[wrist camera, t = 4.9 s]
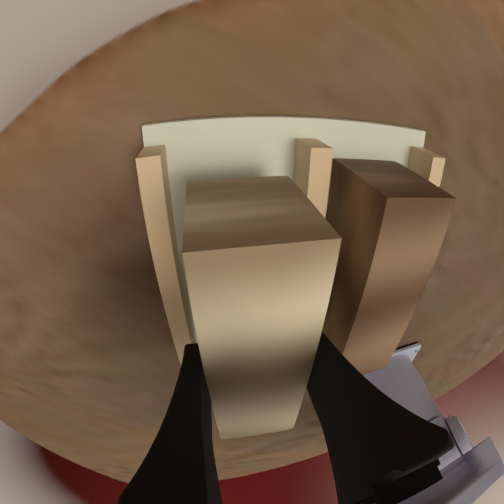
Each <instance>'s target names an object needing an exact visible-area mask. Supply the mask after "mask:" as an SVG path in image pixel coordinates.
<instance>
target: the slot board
mask: <svg viewBox="0 0 504 504" xmlns="http://www.w3.org/2000/svg"><path fill="white" fill-rule="evenodd" d="M142 133H143V143H144V148H143V149H142V150H141V152H140V153H139V154H138V156H137V157H136V158H135V159H136V167H137V174H138V181H139V188H140V194H141V200H142V206H143V212H144V218H145V223H146V228H147V234H148V239H149V244H150V249H151V253H152V258H153V263H154V267H155V272H156V276H157V280H158V284H159V289H160V293H161V297H162V301H163V305H164V308H165V312H166V316H167V320H168V323H169V327H170V331H171V334H172V338H173V341H174V344H175V348H176V351H177V354H178V358H179V361H180V364H182V360H183V354H184V346H185V345H186V344H193V343H198V341H197V336H196V331H195V326H194V320H193V315H192V310H191V304H190V298H189V293H188V287H187V281H186V275H185V268H184V262H183V255H182V245H183V226H184V211H185V197H186V185H187V182H191V181H203V180H215V179H229V178H245V177H265V176H289V177H290V178H291V179H292V180H293V182H294V183H295V184H296V185H297V186H298V187H299V188H300V189H301V191H302V192H303V193H304V194H305V195H306V196H307V197H308V199H309V200H310V201H311V202H312V203H313V204H314V206H315V207H316V208H317V209H318V210H319V211H320V213H321V214H322V215H323V216H324V217H325V219H326V213H327V206H328V197H329V189H330V180H331V171H332V161H333V158H344V159H368V160H385V161H396V162H398V163H399V164H401V165H403V166H405V167H407V168H408V169H410V170H412V171H413V172H415V173H417V174H418V175H420V176H422V177H423V178H425V179H427V180H428V181H430V182H432V183H433V184H435V185H436V186H438V187H440V182H441V178H442V173H443V169H444V164H445V159H446V158H444V157H442V156H440V155H438V154H435V153H433V152H431V151H429V150H427V149H425V148H423V146H424V140H425V133H426V132H425V131H423V130H420V129H415V128H410V127H404V126H397V125H391V124H384V123H376V122H368V121H359V120H349V119H338V118H324V117H306V116H227V117H208V118H195V119H183V120H173V121H164V122H156V123H148V124H144V125H142Z"/></svg>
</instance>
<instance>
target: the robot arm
mask: <svg viewBox="0 0 504 504" xmlns="http://www.w3.org/2000/svg"><path fill="white" fill-rule="evenodd" d="M420 348H421V344H420V343H416V344H413V345H410V346H407V347H404V348H401V349H398V350H395V351H394V353H393V355H392V357H391V359H390V360H389V362H388V364H387V366H386V367H385V369H381V370H378V371H375V372H372V373H368V374H365V375H362V374H361V373H360V372H359V371H358V370H357V369H356V368H355V367H354V366H353V365H352V364H351V363H350V362H349V361H348V360H347V359H346V358H345V357H344V356H343V354H342V353H341V352H340V351H339V350H338V349H337V348H336V347H335V346H334V344H333V343H332V342H331V341H330V340H329V339H328V337H327V336H326V335H325V334H324V333H323V331H322V333H321V337H320V340H319V344H318V348H317V352H316V356H315V359H314V363H313V366H312V370H311V373H310V377H309V380H308V384H307V387H306V388H307V390H308V393H309V395H310V398H311V400H312V403H313V405H314V408H315V410H316V413H317V416H318V418H319V421H320V423H321V426H322V429H323V433H324V436H325V440H326V444H327V448H328V452H329V456H330V460H331V465H332V469H333V474H334V479H335V485H336V491H337V498H338V504H473V503H475V502H476V500H478V499H479V498H480V496H482V495H483V494H484V493H485V492H486V491H487V490H488V489H489V488H490V487H491V486H492V485H493V484H495V483H496V482H497V481H498V480H499V479H500V478H501V477H502V476H503V475H504V464H503V462H502V460H501V457H500V455H499V453H498V451H497V449H496V447H495V445H494V443H493V441H492V439H491V437H487V438H486V439H485V440H483V441H482V442H481V443H479V444H478V445H477V446H475V447H473V445H472V443H471V441H470V439H469V437H468V435H467V433H466V431H465V429H464V428H463V426H462V424H461V422H460V420H459V419H458V417H457V416H452V415H450V416H448V417H447V418H445V417H444V416H442V415H441V413H440V411H439V409H438V407H437V405H436V404H435V402H434V400H433V398H432V396H431V394H430V393H429V391H428V389H427V387H426V386H425V384H424V382H423V380H422V379H421V377H420V375H419V373H418V372H417V370H416V368H415V367H414V365H413V363H412V361H413V359H414V357H415V356H416V354H417V353H418V351H419V349H420ZM117 504H223V503H222V498H221V493H220V488H219V482H218V476H217V471H216V465H215V458H214V452H213V443H212V419H211V399H210V395H209V391H208V387H207V382H206V378H205V374H204V369H203V365H202V360H201V355H200V350H199V346H198V343H193V344H186V345H185V346H184V354H183V360H182V364H181V369H180V373H179V377H178V380H177V383H176V387H175V390H174V393H173V396H172V399H171V402H170V405H169V407H168V410H167V413H166V416H165V418H164V420H163V423H162V425H161V427H160V430H159V432H158V434H157V436H156V438H155V440H154V442H153V444H152V446H151V448H150V450H149V452H148V454H147V455H146V457H145V459H144V461H143V462H142V464H141V465H140V467H139V469H138V470H137V472H136V474H135V475H134V477H133V478H132V480H131V481H130V482H129V484H128V485H127V487H126V488H125V489H124V491H123V492H122V494H121V495H120V496H119V499H118V503H117Z"/></svg>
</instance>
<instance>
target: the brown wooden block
mask: <svg viewBox="0 0 504 504" xmlns="http://www.w3.org/2000/svg"><path fill="white" fill-rule="evenodd" d="M455 199H456V198H455V197H453V196H452V195H450V194H449V193H447V192H446V191H444V190H442V189H441V188H439V187H438V186H436V185H435V184H433V183H432V182H430V181H428V180H427V179H425V178H423V177H422V176H420V175H418V174H417V173H415V172H413V171H412V170H410V169H408V168H407V167H405V166H403V165H401V164H399V163H398V162H396V161H385V160H368V159H344V158H333V161H332V171H331V180H330V189H329V197H328V206H327V213H326V220H327V221H328V222H329V223H330V225H331V226H332V227H333V228H334V229H335V231H336V232H337V233H338V234H339V236H340V237H341V238H342V240H341V245H340V251H339V256H338V261H337V266H336V271H335V276H334V281H333V285H332V290H331V295H330V299H329V304H328V308H327V312H326V316H325V320H324V325H323V329H322V331H323V333H324V334H325V335H326V336H327V337H328V339H329V340H330V341H331V342H332V343H333V344H334V346H335V347H336V348H337V349H338V350H339V351H340V352H341V353H342V354H343V356H344V357H345V358H346V359H347V360H348V361H349V362H350V363H351V364H352V365H353V366H354V367H355V368H356V369H357V370H358V371H359V372H360V373H361V374H362V375H365V374H368V373H372V372H375V371H378V370H381V369H385V367H386V366H387V364H388V362H389V360H390V359H391V357H392V355H393V353H394V351H395V349H396V348H397V346H398V344H399V342H400V340H401V338H402V336H403V334H404V332H405V330H406V328H407V326H408V324H409V322H410V320H411V318H412V316H413V314H414V312H415V309H416V307H417V305H418V303H419V301H420V298H421V296H422V294H423V291H424V289H425V287H426V284H427V282H428V279H429V277H430V274H431V272H432V269H433V267H434V264H435V261H436V259H437V256H438V253H439V251H440V248H441V245H442V242H443V239H444V236H445V233H446V230H447V227H448V224H449V220H450V217H451V214H452V210H453V207H454V203H455Z"/></svg>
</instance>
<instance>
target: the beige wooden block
mask: <svg viewBox="0 0 504 504" xmlns="http://www.w3.org/2000/svg"><path fill="white" fill-rule="evenodd" d="M341 240H342V238H341V237H340V236H339V234H338V233H337V232H336V231H335V229H334V228H333V227H332V226H331V225H330V223H329V222H328V221H327V220H326V219H325V217H324V216H323V215H322V214H321V213H320V211H319V210H318V209H317V208H316V207H315V206H314V204H313V203H312V202H311V201H310V200H309V199H308V197H307V196H306V195H305V194H304V193H303V192H302V191H301V189H300V188H299V187H298V186H297V185H296V184H295V183H294V182H293V180H292V179H291V178H290V177H289V176H265V177H245V178H229V179H215V180H203V181H191V182H187V185H186V197H185V211H184V226H183V245H182V255H183V262H184V268H185V275H186V281H187V287H188V293H189V298H190V304H191V310H192V315H193V320H194V326H195V331H196V336H197V341H198V346H199V350H200V355H201V360H202V365H203V369H204V374H205V378H206V382H207V387H208V391H209V395H210V399H211V403H212V407H213V411H214V415H215V419H216V423H217V427H218V431H219V434H220V438H221V440H223V439H232V438H240V437H247V436H254V435H261V434H267V433H272V432H278V431H283V430H288V429H293V428H294V425H295V422H296V419H297V416H298V413H299V410H300V407H301V404H302V400H303V397H304V394H305V390H306V387H307V384H308V380H309V377H310V373H311V370H312V366H313V363H314V359H315V356H316V352H317V348H318V344H319V340H320V337H321V333H322V329H323V325H324V320H325V316H326V312H327V308H328V304H329V299H330V295H331V290H332V285H333V281H334V276H335V271H336V266H337V261H338V256H339V251H340V245H341Z"/></svg>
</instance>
